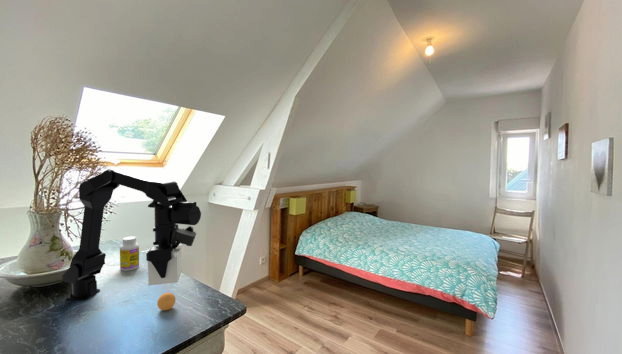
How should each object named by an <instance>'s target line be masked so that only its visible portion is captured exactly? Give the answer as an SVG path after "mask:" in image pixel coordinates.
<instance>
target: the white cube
mask: <svg viewBox="0 0 622 354" xmlns="http://www.w3.org/2000/svg"><path fill="white" fill-rule="evenodd" d="M173 255H174V256H173V258H172V259H171V260H170V261H168V266H167V272H166V277H165V278H161V277H160V275H159V274H158V272H157V270H156V269H155V267H154V266H153V264H152V263H151V262H150V261H147V275H148V276H147V277H148V279H147V280H148V281H147V282H148V286H156V285H163V284H164V285H165V284H174V283H178V282H179V280H180V277H181V275H182V270H183V269H182V248H178V247H177V248H176V249H174V253H173Z"/></svg>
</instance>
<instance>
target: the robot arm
mask: <svg viewBox="0 0 622 354" xmlns="http://www.w3.org/2000/svg"><path fill="white" fill-rule="evenodd" d="M78 186H79V187H78V195H79V196H78V199H79V200H80V202H81V203H82V205H83V206H84V207H83V208H84V209H83V215H82V216H83V217H82V225H81V234H80V241H79V248H78V250H77V251H76V252H75V254H73V256H72V258H71V262H70V265H69V268H68V269H66V271H65V272H64V273H63V274H62V275H61V276H62V277H61V278H62V281H63V283H69V293H70V294H69V295H68V296H66V297H65V300H75V301H85V300H88V299H89V298H90V297H92V296H94V295H95V294H97V293H99V292H100V291H101V289H100V288H98V283H97V282H98V281H97V280H96V279H97V278H96V275H98V274H101V271H102V269H103V268H104V265H105V264H106V262H105V260H106V256H107V255H106V253H105V252H103V251H101V249H100V241H101V233H102V226H103V218H104V211H105V206H107V204H108V203H109V202H110V200H111V199H112V196H113V193H114V190H116V189H118V188H119V187H120V186H123V187H127V188H130V189H133V190H136V191H139V192H142V193H143V194H145V196H146V197H147V198H149V199H151V200H152V201H151V202H150V203H149V204H148V205H147V207H148V208H149V209H150V208H152V209H154V227H152V232H154V240H153V241H152V244H153V246H152V247H151V248H150V249H149V250H148V251H147V252H146V255H145V256H146V258H145V259H146V261H147V262H148V261H150V262H151V263H152V264H153V266H154V267H155V269H156V270H157V272H158V274H159V275H160V277H161V278H165V277H166V272H167V266H168V261H170V260H171V259H172V258H173V256H174V255H173V253H174V249H178V247H179V246H180V244H182V245H185V246H187V247H192V246H193V243H194V242H195V238H196V235H197V232H196V231H194V227H193V226H196V225H198V224H199V222H200V220H201V217H202V211H201V210H200V209H201V208H200V207H199V206H198V205H197V201H188V200H187V198H186V197H185V195H184V194H183V192H182V190H181V189H180V187H179V185H178V183H177V182H176V181H175V180H169V179H153V178H149V177H147V176H143V175H139V174H136V173H132V172H129V171H126V170H124V169H121V168H109V169H106V170H104V171H103V172H102V173H99V174H98V175H95V176H93V177H91V178H89V179H87V180H85V181H82V182H81V183H80V185H78ZM179 225H187V227H186V228H179Z"/></svg>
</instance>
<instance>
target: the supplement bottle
mask: <svg viewBox="0 0 622 354" xmlns="http://www.w3.org/2000/svg"><path fill="white" fill-rule="evenodd" d="M122 243H123V244H121V245H120V246H119V268H120V270H121V272H123V271H124V272H130V271H134V270H137V269H138V268H139V267H140V245H139V243H138V242H137V236H134V235H133V236H126V237H123V238H122Z"/></svg>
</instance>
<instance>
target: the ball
mask: <svg viewBox="0 0 622 354" xmlns="http://www.w3.org/2000/svg"><path fill="white" fill-rule="evenodd" d="M175 303H176V297H175V295H174V294H173V293H171V292H165V293H162V294H161V295H160V296H159V297H158V298H157V308H158V309H159V310H161V311H169V310H171V309H172V308H173V307H174V306H175Z"/></svg>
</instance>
